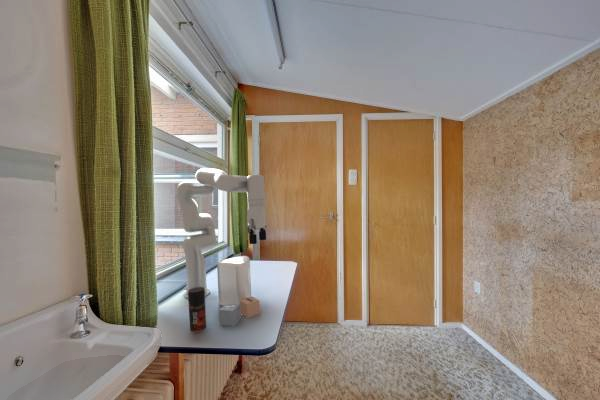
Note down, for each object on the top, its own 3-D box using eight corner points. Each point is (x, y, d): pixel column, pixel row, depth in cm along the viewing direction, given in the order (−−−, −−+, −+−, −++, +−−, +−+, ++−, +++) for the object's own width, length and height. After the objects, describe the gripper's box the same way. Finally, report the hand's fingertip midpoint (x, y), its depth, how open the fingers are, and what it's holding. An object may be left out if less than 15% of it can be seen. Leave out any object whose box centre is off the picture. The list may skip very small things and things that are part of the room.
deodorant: (190, 333, 99) (188, 293, 99) (189, 326, 104) (187, 288, 104) (206, 329, 101) (204, 290, 101) (205, 323, 107) (203, 286, 107)
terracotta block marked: (240, 314, 114) (239, 299, 114) (252, 309, 118) (251, 295, 118) (247, 318, 110) (246, 303, 109) (259, 313, 114) (259, 299, 114)
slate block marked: (219, 324, 105) (218, 309, 105) (226, 318, 111) (226, 303, 111) (233, 325, 104) (232, 310, 104) (240, 318, 109) (239, 303, 109)
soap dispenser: (217, 306, 124) (215, 259, 123) (238, 295, 136) (236, 252, 136) (243, 311, 117) (240, 261, 116) (262, 299, 129) (260, 254, 129)
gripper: (257, 202, 126) (258, 238, 126) (238, 204, 109) (240, 245, 110) (271, 202, 124) (273, 238, 124) (255, 203, 107) (257, 245, 107)
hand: (258, 241), depth 117 cm, fingers open, 9 cm apart
